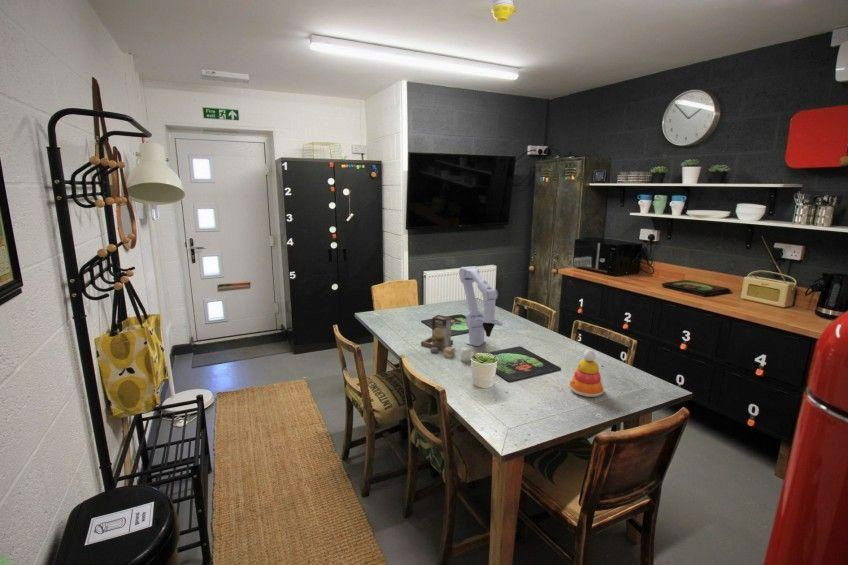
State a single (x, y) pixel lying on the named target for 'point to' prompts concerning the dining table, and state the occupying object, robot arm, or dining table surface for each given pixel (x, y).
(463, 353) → the pale grey rounded cylinder
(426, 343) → the walnut bay
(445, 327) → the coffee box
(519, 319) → the dining table surface
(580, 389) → the stacking toy
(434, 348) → the rubber puck
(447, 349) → the oak block
